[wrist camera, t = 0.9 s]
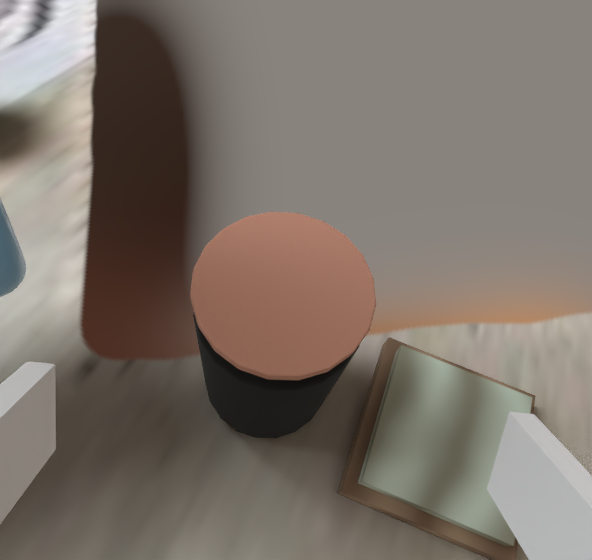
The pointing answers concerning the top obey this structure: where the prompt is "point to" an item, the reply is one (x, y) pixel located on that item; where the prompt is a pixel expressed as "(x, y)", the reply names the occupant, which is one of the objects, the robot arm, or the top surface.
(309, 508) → the top surface
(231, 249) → the coffee jar
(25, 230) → the top surface
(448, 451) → the plinth
